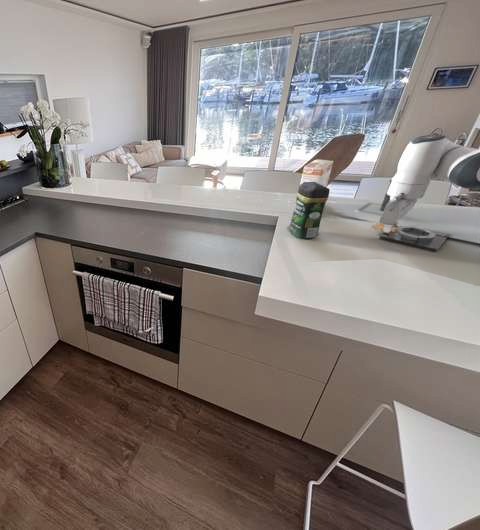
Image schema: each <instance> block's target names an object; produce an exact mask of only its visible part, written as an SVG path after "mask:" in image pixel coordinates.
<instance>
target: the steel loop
mask: <svg viewBox="0 0 480 530" xmlns="http://www.w3.org/2000/svg"><path fill="white" fill-rule="evenodd" d="M384 227H385V224H381V223H380V222H376V223H375V225H374V229H379V230H382V231H383V230H384ZM391 231H392V232H394V234H396V235H397V236H399V237H400V238H403V239H408V240H412V241H417V242H430V241H432V240H433V239H434V238H435V236H436V234H437V233H435V232H433V231H432V230H430V229H427V228H424V227H419V226H412V225H400V226H399V227H394V226H393V228H392V230H391ZM403 231H412V232H416V233H421V234H424V235H425V236H415V235H411V234H407V233H405V232H403Z"/></svg>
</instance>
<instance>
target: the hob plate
mask: <svg viewBox="0 0 480 530" xmlns="http://www.w3.org/2000/svg"><path fill="white" fill-rule="evenodd" d="M396 227H400V226H398V225H397V226H396ZM403 232H405V233H407V234H411V235H415V236H425V235H424V234H421V233H416V232H412V231H403ZM435 234H436V236H435V238H434V239H433V240H432V241H430V242H417V241H412V240H408V239H403V238H400V237H399V236H397V235H396V234H394V232H392V231H390V232H389V233H387V232H384V231H383V233H382V234H380V236H379V240H383V241H388V242H390V243H391V242H392V243H395V244H399V245H404V246H408V247H412V248H417V249H420V250H425V251H429V252H433V253H437V251H438V250H440V248H441V247H442V245H443V244H444V243H445V242H446V240H447V239H448V238H449V236H447V235H443V234H437V233H435Z"/></svg>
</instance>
